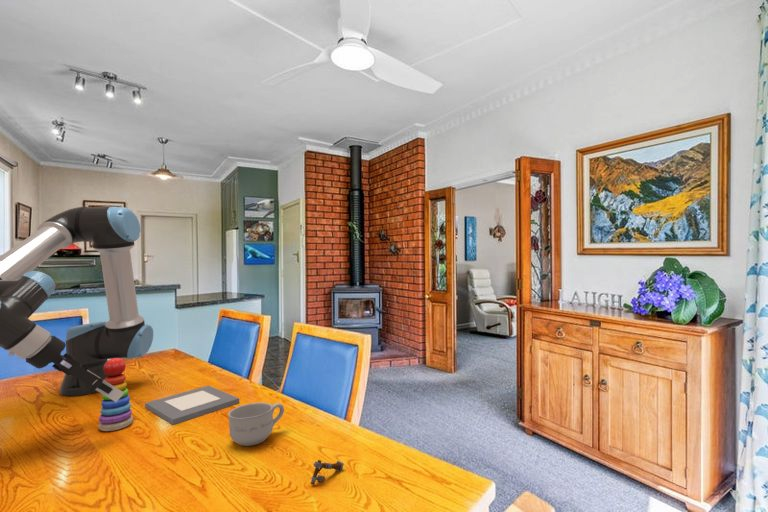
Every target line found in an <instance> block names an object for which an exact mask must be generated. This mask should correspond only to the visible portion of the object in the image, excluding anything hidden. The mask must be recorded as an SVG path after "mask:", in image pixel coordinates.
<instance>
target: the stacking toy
mask: <svg viewBox="0 0 768 512" xmlns="http://www.w3.org/2000/svg"><path fill="white" fill-rule="evenodd" d="M126 367H127V365H126V362H125V360H123V359H120V358H113V359H107V362H106V363H105V365H104V372H105V374H106V375H108V376H107V377H106V378H105V379H104V380H105V381H106V382H108V383H109V384H111V385H113V386H114V387H116V388H118V389H119V390H121V391H122V392H124V394H123V395H122V396H121V397H120V399H119V400H118V401H117V402H115V401H113V400H112V399H110V398H108V397H106V396H105V395H103V394H101V397H102V401H101V402H100V406H101V408H100V415H99V417H98V421H99V423H98V430H100V431H103V432H112V431H118V430H122V429H123V428H126V427H128V426H129V425H131V424H132V423H133V422H134V416H133V415H132V413H133V412H132V411H133V410H132V409H131V407H132V404H131V402H130V400H131V398H130V397H131V396H130V395H129V394H128V393H129V389H128V388H127V385H128V384H127V381H126V380H127V379H126V378H127V376H126V375H125V374H123V373H124V372H125V370H126Z"/></svg>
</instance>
